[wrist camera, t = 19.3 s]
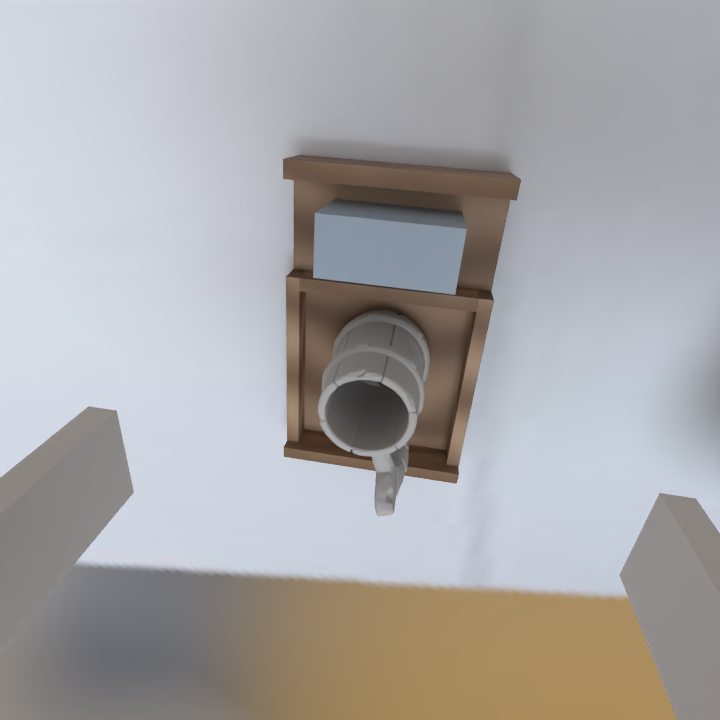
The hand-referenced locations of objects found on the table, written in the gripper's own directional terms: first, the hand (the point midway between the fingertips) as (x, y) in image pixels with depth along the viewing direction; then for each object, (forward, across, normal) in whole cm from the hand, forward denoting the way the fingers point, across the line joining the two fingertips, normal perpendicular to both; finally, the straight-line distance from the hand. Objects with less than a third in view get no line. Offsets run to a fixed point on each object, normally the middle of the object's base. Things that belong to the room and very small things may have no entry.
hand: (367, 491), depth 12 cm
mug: (+25, -1, -10) cm, 27 cm away
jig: (+27, -2, -6) cm, 28 cm away
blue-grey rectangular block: (+25, -2, +1) cm, 25 cm away
